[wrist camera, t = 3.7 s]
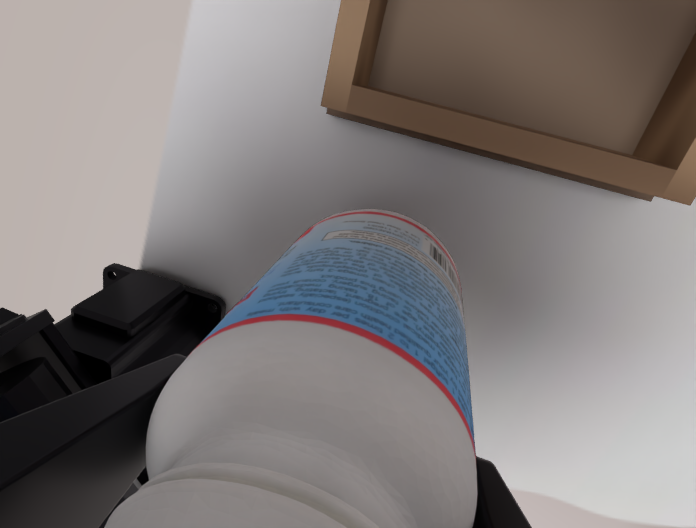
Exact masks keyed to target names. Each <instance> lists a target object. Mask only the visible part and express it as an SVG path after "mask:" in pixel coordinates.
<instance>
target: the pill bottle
mask: <svg viewBox="0 0 696 528" xmlns="http://www.w3.org/2000/svg"><path fill="white" fill-rule="evenodd" d="M146 468H147V473H148V478H149V481H148V482H147V483H145V484H144V485H143V486H141V487H140V489H139V490H138V491H137V492H136V493H135V494H133V495H131V496H130V497H129V498H127V499H126V500H125V501H124V502H122V503H121V504H120V505H119V506H118V507H117V508H116V509H115V510H114V511H113V513H112V514H111V516H110V517H109V519H108V521H107V523H106V525H105V527H104V528H472V527H473V523H474V518H475V512H476V506H477V469H476V453H475V442H474V430H473V418H472V406H471V394H470V381H469V369H468V358H467V345H466V334H465V322H464V311H463V300H462V291H461V284H460V278H459V275H458V271H457V268H456V266H455V263H454V261H453V259H452V257H451V255H450V253H449V252H448V250H447V249H446V247H445V246H444V245H443V243H442V242H441V241H440V240H439V239H438V238H437V237H436V236H435V235H434V234H433V233H432V232H431V231H430V230H429V229H428V228H426V227H425V226H423V225H422V224H420V223H419V222H417V221H415V220H414V219H411V218H409V217H407V216H405V215H402V214H399V213H396V212H392V211H387V210H380V209H358V210H350V211H345V212H341V213H337V214H334V215H331V216H329V217H326V218H324V219H323V220H321V221H319V222H317V223H316V224H314V225H313V226H312V227H310V228H309V229H308V230H307V231H306V232H305V233H304V234H303V235H301V236H300V237H299V239H298V240H297V241H296V242H295V243H294V244H293V245H292V246H291V247H290V248H289V249H288V250H287V251H286V252H285V253H284V254H283V255H282V257H281V258H280V259H279V260H278V261H277V262H276V263H275V264H274V265H273V266H272V267H271V268H270V269H269V270H268V271H267V272H266V274H265V275H264V276H263V277H262V278H261V279H260V280H259V281H258V282H257V283H256V284H255V285H254V287H253V288H252V289H251V290H250V291H249V292H248V293H247V294H246V295H245V296H244V297H243V298H242V299H241V300H240V301H239V302H238V303H237V304H236V305H235V306H234V307H233V308H232V310H230V311H229V312H228V313H227V314H226V316H225V317H224V318H223V319H222V320H221V322H220V323H219V324H218V325H217V326H216V327H215V328H214V329H213V330H212V331H211V332H210V333H209V334H208V336H207V337H206V338H205V339H204V340H203V341H202V342H201V343H200V344H199V345H198V346H197V347H196V348H195V349H194V350H193V351H192V352H191V353H190V354H189V356H188V357H187V358H186V359H185V361H184V362H183V363H182V364H181V365H180V366H179V367H178V369H177V370H176V371H175V372H174V373H173V374H172V376H171V377H170V379H169V380H168V382H167V383H166V385H165V386H164V388H163V390H162V391H161V393H160V395H159V397H158V399H157V401H156V403H155V406H154V409H153V412H152V414H151V417H150V421H149V426H148V430H147V438H146Z"/></svg>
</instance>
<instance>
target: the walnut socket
mask: <svg viewBox="0 0 696 528" xmlns="http://www.w3.org/2000/svg"><path fill="white" fill-rule="evenodd" d="M321 106H323V107H327V113H326V114H330V115H333V116H337V117H341V118H344V119H348V120H352V121H355V122H359V123H363V124H366V125H370V126H374V127H377V128H381V129H385V130H389V131H392V132H396V133H400V134H403V135H407V136H411V137H414V138H418V139H422V140H425V141H429V142H433V143H436V144H440V145H444V146H447V147H451V148H455V149H459V150H462V151H466V152H470V153H473V154H477V155H481V156H484V157H488V158H492V159H495V160H499V161H503V162H506V163H510V164H514V165H517V166H521V167H525V168H529V169H532V170H536V171H540V172H543V173H547V174H551V175H554V176H558V177H562V178H565V179H569V180H573V181H576V182H580V183H584V184H587V185H591V186H595V187H599V188H602V189H606V190H610V191H613V192H617V193H621V194H624V195H628V196H632V197H635V198H639V199H643V200H646V201H650V202H651V201H652V199H653V197H654V196H656V197H660V198H664V199H668V200H671V201H675V202H679V203H682V204H686V205H691V204H692V202H693V200H694V199H695V197H696V0H341V4H340V9H339V14H338V19H337V24H336V30H335V35H334V40H333V45H332V50H331V55H330V61H329V66H328V71H327V76H326V81H325V86H324V92H323V97H322V102H321Z"/></svg>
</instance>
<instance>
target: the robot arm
mask: <svg viewBox="0 0 696 528" xmlns="http://www.w3.org/2000/svg"><path fill="white" fill-rule="evenodd" d="M113 272H114V273H115V274H116V276H115V275H114V273H113ZM212 304H214V305H215V306H216V307H217V309H215V308H214V307H213V306H212ZM225 308H226V307H225V303H224V301H223V300H222V299H221V298H220V297H218V296H216V295H212V294H209V293H206V292H203V291H200V290H197V289H194V288H191V287H188V286H185V285H183V284H181V283H179V282H176V281H173V280H169V279H166V278H163V277H160V276H157V275H154V274H151V273H148V272H145V271H142V270H135V269H132V268H129V267H126V266H123V265H120V264H115V263H114V264H111V265H109V266H107V267H105V269H104V271H103V290H101V291H99V292H98V293H96V294H94V295H93V296H91V297H89V298H87V299H86V300H84V301H82V302H80V303H79V304H77V305H75V306H74V307H73V308H72V309H71V315H69V316H68V317H66V318H64V319H63V320H61V321H60V322H58V323H56V324H53V322H54V319H53V318H52V317H51V315H50V314H49V312H48V311H47V310H46V309H45V310H43V311H41V312H38V313H36V314H34V315H32V316H29V317H27V318H26V317H25V316H24V315H22V314H20V315H18V314H16V313H14V312H11V311H9V310H7V309H5V308H1V309H0V528H104V527H105V525H106V523H107V521H108V519H109V517H110V516H111V514H112V513H113V511H114V510H115V509H116V508H117V507H118V506H119V505H120V504H121V503H122V502H124V501H125V500H126V499H127V498H129V497H130V496H131V495H133V494H135V493H136V492H137V491H138V490H139V489H140V487H141V486H143V485H144V484H145V483H147V482H148V481H149V478H148V473H147V468H146V438H147V430H148V426H149V421H150V417H151V414H152V412H153V409H154V406H155V403H156V401H157V399H158V397H159V395H160V393H161V391H162V390H163V388H164V386H165V385H166V383H167V382H168V380H169V379H170V377H171V376H172V374H173V373H174V372H175V371H176V370H177V369H178V367H179V366H180V365H181V364H182V363H183V362H184V361H185V359H186V358H187V357H188V356H189V354H190V353H191V352H192V351H193V350H194V349H195V348H196V347H197V346H198V345H199V344H200V343H201V342H202V341H203V340H204V339H205V338H206V337H207V336H208V334H209V333H210V332H211V331H212V330H213V329H214V328H215V327H216V326H217V325H218V324H219V323H220V322H221V320H222V319H223V318H224V316H225ZM476 469H477V506H476V512H475V518H474V523H473V527H472V528H532V527H531V526H530V524H529V522H528V521H527V519H526V517H525V516H524V514H523V512H522V511H521V509H520V507H519V506H518V504H517V503H516V501H515V499H514V497H513V496H512V494H511V492H510V491H509V489H508V487H507V486H506V484H505V482H504V481H503V479H502V477H501V476H500V474H499V472H498V471H497V469H496V467H495V466H494V464H493V463H492V462H490V461H488V460H485V459H482V458H479V457H477V456H476Z"/></svg>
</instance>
